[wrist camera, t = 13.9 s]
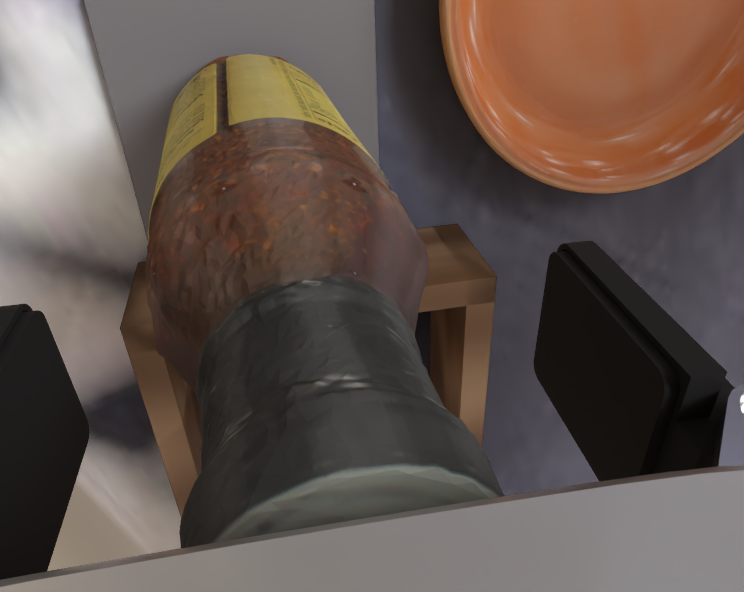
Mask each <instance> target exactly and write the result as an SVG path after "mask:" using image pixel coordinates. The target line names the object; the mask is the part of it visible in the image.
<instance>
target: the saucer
mask: <svg viewBox="0 0 744 592" xmlns="http://www.w3.org/2000/svg"><path fill="white" fill-rule="evenodd" d="M439 19H440V31H441V39H442V45H443V51H444V56H445V60H446V64H447V68H448V71H449V74H450V78H451V81H452V83H453V86H454V88H455V91H456V93H457V95H458V97H459V100H460V102H461V104H462V106H463V108H464V109H465V111H466V113H467V115H468V116H469V118H470V120H471V121H472V123H473V125H474V126H475V128H476V129H477V130H478V132H479V133H480V135H481V136H482V137H483V138H484V140H485V141H486V142H487V143H488V144H489V146H490V147H491V148H492V149H493V150H494V151H495V152H496V153H497V154H498V155H499V156H501V157H502V158H503V159H504V160H505V161H506V162H508V163H509V164H510V165H512V166H513V167H515V168H516V169H518V170H519V171H521V172H523V173H524V174H526V175H528V176H529V177H532V178H534V179H536V180H538V181H540V182H542V183H545V184H548V185H550V186H554V187H557V188H560V189H564V190H569V191H574V192H581V193H595V194H602V193H619V192H626V191H632V190H637V189H641V188H645V187H649V186H652V185H656V184H659V183H661V182H664V181H667V180H669V179H672V178H674V177H676V176H678V175H681V174H683V173H685V172H687V171H689V170H691V169H693V168H694V167H696V166H698V165H700V164H702V163H703V162H705V161H707V160H708V159H710V158H711V157H713V156H714V155H715V154H717V153H718V152H720V151H721V150H723V149H724V148H725V147H727V146H728V145H729V144H731V143H732V142H733V141H734V140H736V139H737V138H738V137H739V136H741V135H742V134H743V133H744V0H439Z"/></svg>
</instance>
